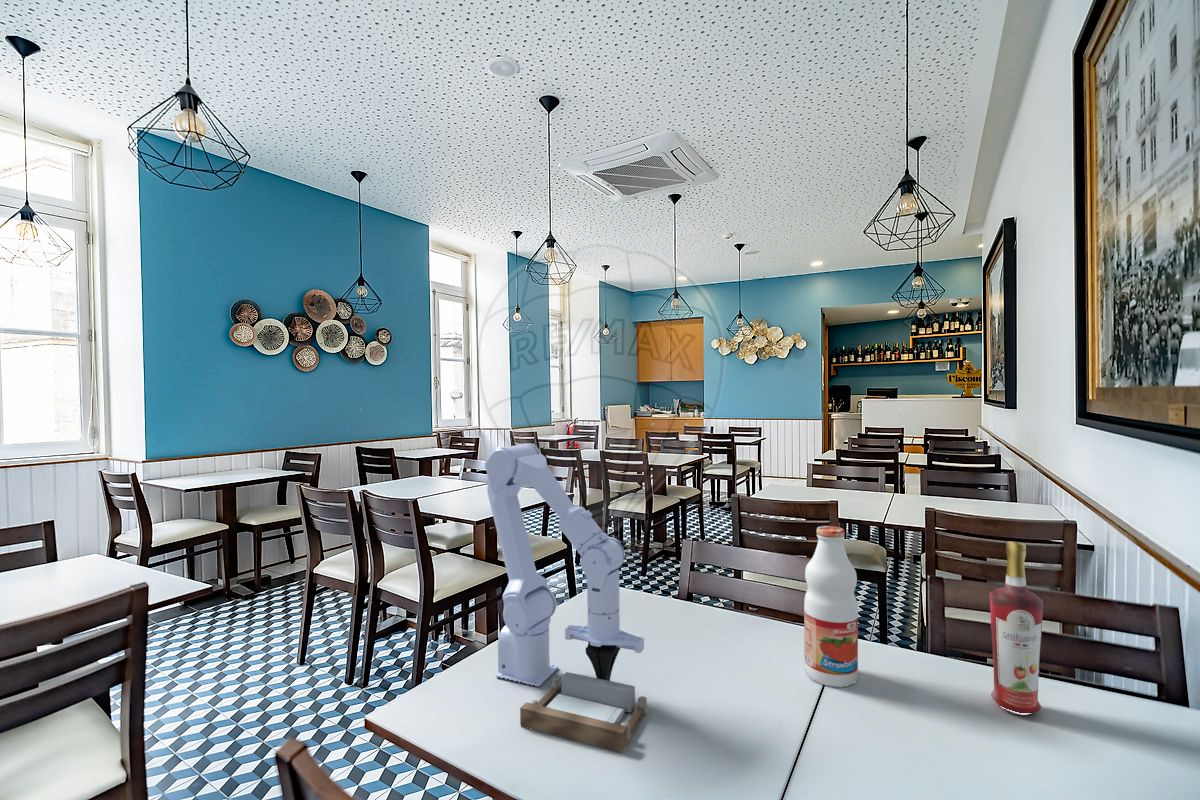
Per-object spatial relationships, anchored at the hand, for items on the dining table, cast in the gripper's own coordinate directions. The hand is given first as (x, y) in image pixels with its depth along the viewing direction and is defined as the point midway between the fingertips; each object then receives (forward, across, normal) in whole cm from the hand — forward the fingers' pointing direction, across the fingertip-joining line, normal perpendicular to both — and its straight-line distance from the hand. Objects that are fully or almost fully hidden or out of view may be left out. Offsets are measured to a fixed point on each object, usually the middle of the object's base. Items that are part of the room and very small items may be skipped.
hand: (604, 684), depth 102 cm
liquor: (+2, +66, +23) cm, 70 cm away
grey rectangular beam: (+2, 0, -3) cm, 3 cm away
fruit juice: (+2, +37, +23) cm, 43 cm away
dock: (+2, 0, -7) cm, 8 cm away
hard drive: (+3, -1, -8) cm, 8 cm away
